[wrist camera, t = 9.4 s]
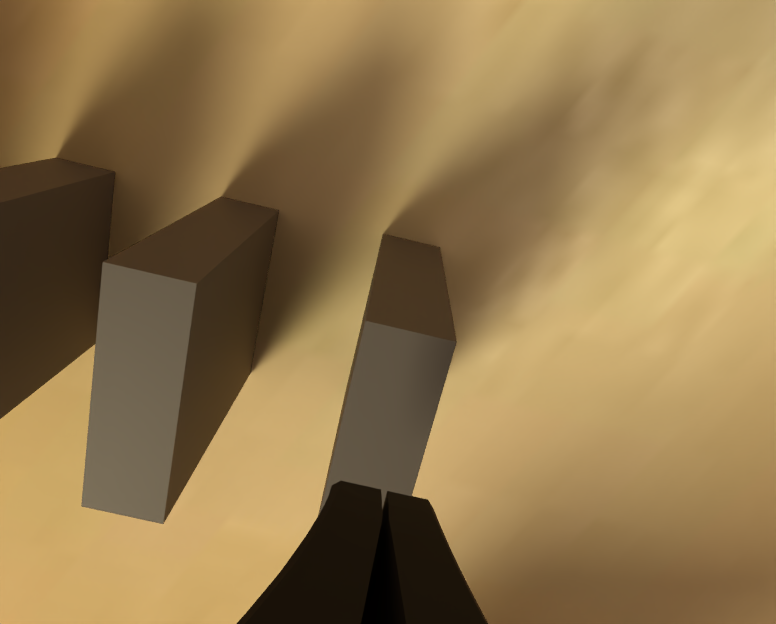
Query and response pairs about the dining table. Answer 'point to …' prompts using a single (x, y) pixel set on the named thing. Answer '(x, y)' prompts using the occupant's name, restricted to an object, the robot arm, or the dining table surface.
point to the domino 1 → (49, 269)
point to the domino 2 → (172, 353)
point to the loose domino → (395, 371)
